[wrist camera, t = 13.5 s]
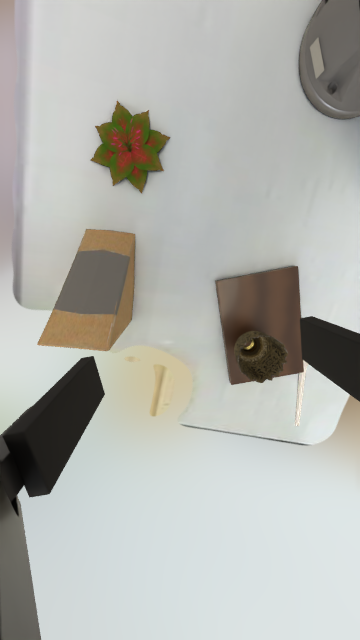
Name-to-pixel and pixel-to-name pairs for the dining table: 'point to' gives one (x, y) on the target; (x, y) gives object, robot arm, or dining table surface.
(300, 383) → the fork
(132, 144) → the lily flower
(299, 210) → the dining table surface
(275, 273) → the walnut board
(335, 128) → the dining table surface
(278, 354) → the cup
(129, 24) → the dining table surface
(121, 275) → the sandwich container
